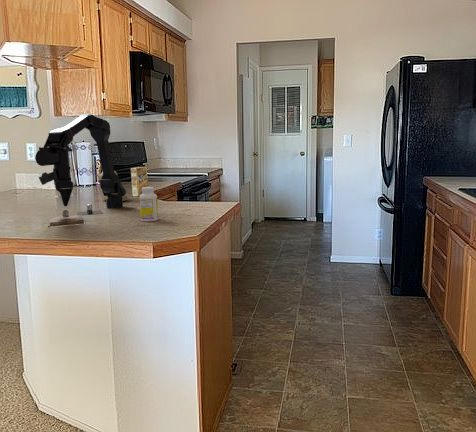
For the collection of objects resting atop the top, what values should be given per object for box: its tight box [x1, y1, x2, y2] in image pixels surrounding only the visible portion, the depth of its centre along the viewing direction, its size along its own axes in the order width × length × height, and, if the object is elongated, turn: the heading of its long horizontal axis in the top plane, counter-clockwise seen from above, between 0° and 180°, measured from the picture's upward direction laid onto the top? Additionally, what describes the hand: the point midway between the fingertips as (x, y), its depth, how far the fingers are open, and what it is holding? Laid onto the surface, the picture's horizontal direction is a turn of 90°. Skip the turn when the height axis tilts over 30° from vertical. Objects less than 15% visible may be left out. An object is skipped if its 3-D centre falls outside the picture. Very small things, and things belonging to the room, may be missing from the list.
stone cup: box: [97, 170, 129, 202], centre depth 241 cm, size 15×12×15 cm
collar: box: [54, 193, 76, 211], centre depth 183 cm, size 6×6×5 cm
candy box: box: [130, 166, 149, 197], centre depth 262 cm, size 9×4×15 cm, turn 150°
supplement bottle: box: [139, 186, 159, 223], centre depth 185 cm, size 7×7×13 cm
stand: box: [76, 203, 104, 217], centre depth 200 cm, size 10×10×4 cm
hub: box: [48, 210, 85, 227], centre depth 184 cm, size 12×12×5 cm
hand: (65, 204), depth 184 cm, fingers closed on collar, 6 cm apart
